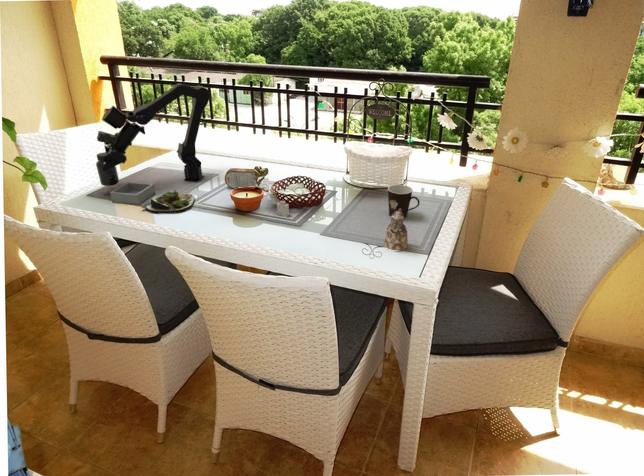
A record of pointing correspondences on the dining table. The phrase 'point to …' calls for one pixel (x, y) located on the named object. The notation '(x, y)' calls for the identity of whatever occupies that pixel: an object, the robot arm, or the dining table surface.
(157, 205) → the salad plate
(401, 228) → the figurine
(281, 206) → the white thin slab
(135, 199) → the square tray
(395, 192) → the coffee mug
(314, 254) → the dining table surface
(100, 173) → the supplement bottle
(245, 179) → the tin
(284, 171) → the dining table surface
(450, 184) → the dining table surface
